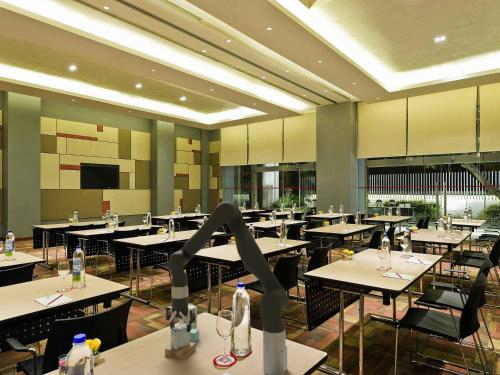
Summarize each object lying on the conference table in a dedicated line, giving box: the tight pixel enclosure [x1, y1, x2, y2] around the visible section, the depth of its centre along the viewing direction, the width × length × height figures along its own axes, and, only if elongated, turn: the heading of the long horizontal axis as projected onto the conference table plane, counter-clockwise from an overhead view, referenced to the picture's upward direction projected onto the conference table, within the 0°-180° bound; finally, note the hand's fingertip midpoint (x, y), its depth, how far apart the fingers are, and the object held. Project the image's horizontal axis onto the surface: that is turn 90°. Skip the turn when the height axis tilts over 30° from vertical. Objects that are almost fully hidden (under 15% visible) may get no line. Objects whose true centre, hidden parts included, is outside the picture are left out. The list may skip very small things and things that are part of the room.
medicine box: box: [170, 324, 190, 350], centre depth 165 cm, size 8×4×9 cm, turn 137°
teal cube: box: [190, 328, 200, 343], centre depth 177 cm, size 5×5×5 cm
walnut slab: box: [164, 342, 197, 360], centre depth 165 cm, size 10×10×4 cm
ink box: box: [178, 304, 198, 329], centre depth 191 cm, size 8×5×12 cm, turn 123°
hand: (180, 330), depth 164 cm, fingers open, 8 cm apart
